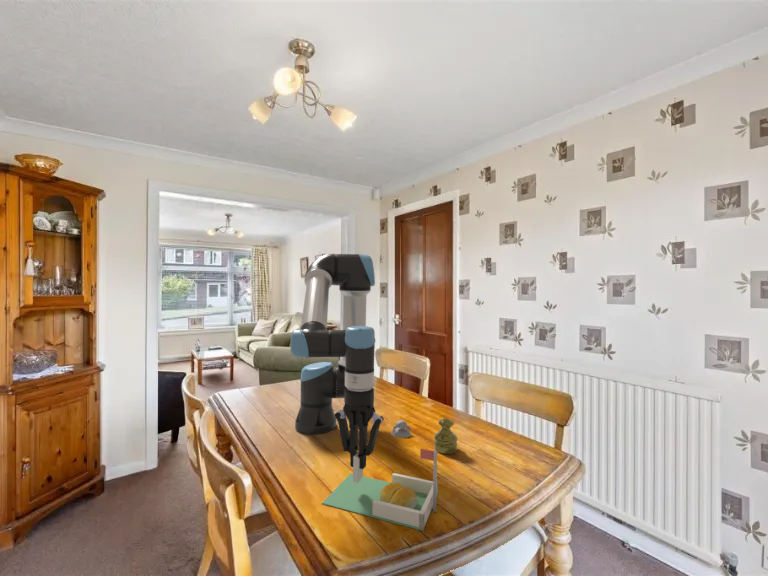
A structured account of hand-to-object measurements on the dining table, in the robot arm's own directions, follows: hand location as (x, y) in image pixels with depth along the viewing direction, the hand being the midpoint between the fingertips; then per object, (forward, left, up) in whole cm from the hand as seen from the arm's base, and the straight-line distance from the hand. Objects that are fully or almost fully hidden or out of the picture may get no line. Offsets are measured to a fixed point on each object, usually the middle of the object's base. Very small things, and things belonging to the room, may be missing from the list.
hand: (357, 479), depth 91 cm
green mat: (+7, 0, -3) cm, 7 cm away
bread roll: (+11, -1, -3) cm, 12 cm away
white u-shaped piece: (+14, 0, -3) cm, 14 cm away
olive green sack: (+16, +33, -3) cm, 37 cm away
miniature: (-2, +40, -4) cm, 40 cm away
